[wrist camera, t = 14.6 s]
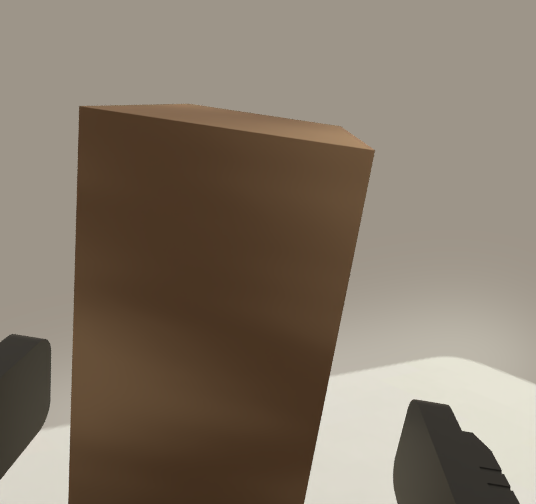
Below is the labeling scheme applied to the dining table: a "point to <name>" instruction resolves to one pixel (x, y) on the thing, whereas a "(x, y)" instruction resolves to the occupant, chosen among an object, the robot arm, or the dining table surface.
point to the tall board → (206, 300)
